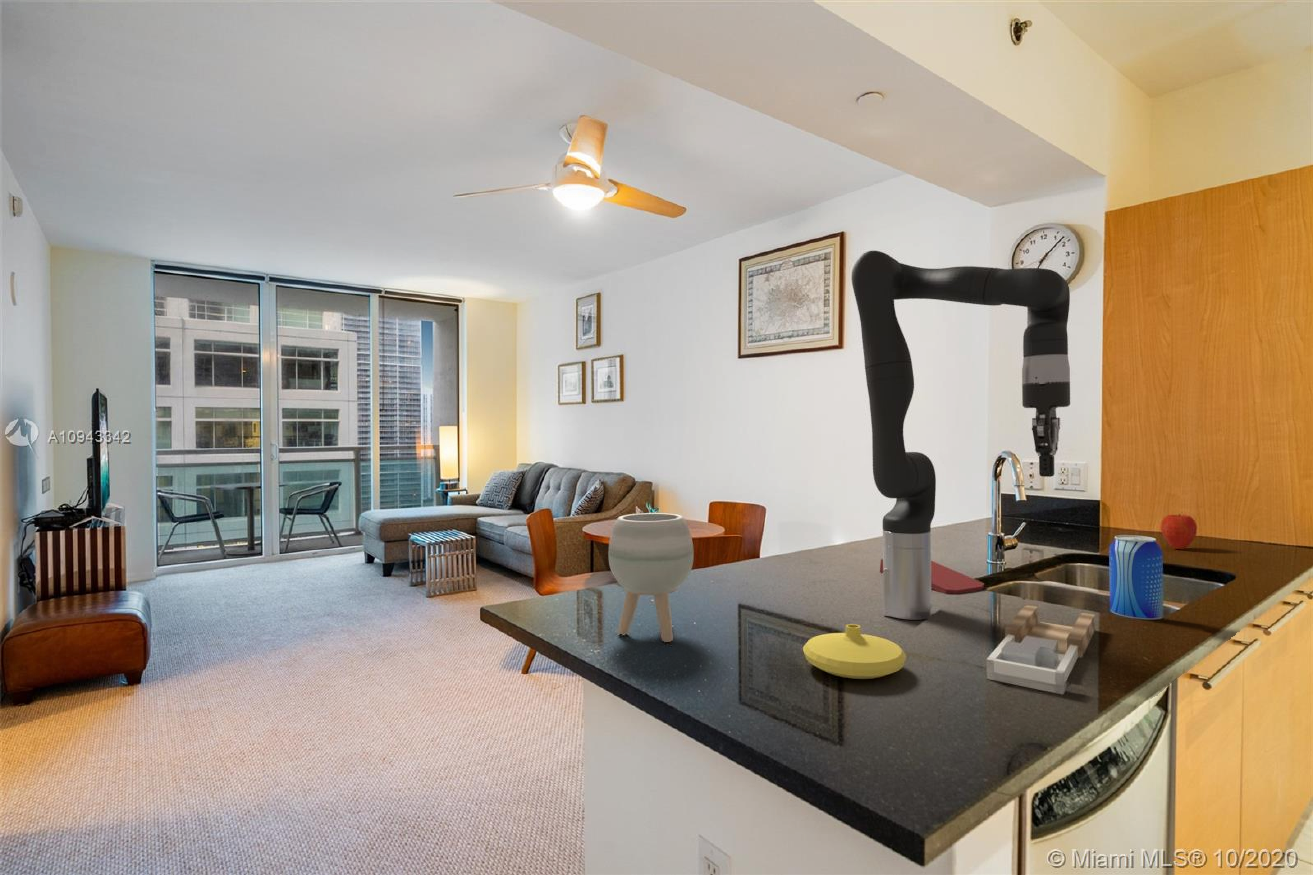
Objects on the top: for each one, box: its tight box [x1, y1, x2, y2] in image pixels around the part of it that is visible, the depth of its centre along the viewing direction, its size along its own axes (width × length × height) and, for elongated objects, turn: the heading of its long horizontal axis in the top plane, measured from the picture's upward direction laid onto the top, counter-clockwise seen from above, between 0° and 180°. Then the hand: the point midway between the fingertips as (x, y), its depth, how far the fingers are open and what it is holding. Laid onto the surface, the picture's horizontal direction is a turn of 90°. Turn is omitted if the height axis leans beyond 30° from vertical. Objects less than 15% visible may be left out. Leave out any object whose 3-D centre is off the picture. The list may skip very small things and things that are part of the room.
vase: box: [802, 623, 907, 680], centre depth 105 cm, size 16×16×7 cm
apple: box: [1160, 513, 1198, 550], centre depth 197 cm, size 9×8×11 cm
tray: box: [986, 634, 1079, 695], centre depth 102 cm, size 15×10×3 cm, turn 141°
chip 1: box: [1002, 641, 1041, 667], centre depth 101 cm, size 4×4×3 cm
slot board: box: [1004, 605, 1096, 659], centre depth 115 cm, size 18×11×4 cm, turn 141°
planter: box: [607, 512, 694, 643], centre depth 124 cm, size 16×16×22 cm
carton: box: [879, 558, 985, 595], centre depth 163 cm, size 12×5×25 cm
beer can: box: [1108, 534, 1164, 620], centre depth 128 cm, size 8×8×16 cm
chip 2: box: [1021, 636, 1058, 668], centre depth 103 cm, size 4×4×3 cm
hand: (1046, 476), depth 120 cm, fingers closed
